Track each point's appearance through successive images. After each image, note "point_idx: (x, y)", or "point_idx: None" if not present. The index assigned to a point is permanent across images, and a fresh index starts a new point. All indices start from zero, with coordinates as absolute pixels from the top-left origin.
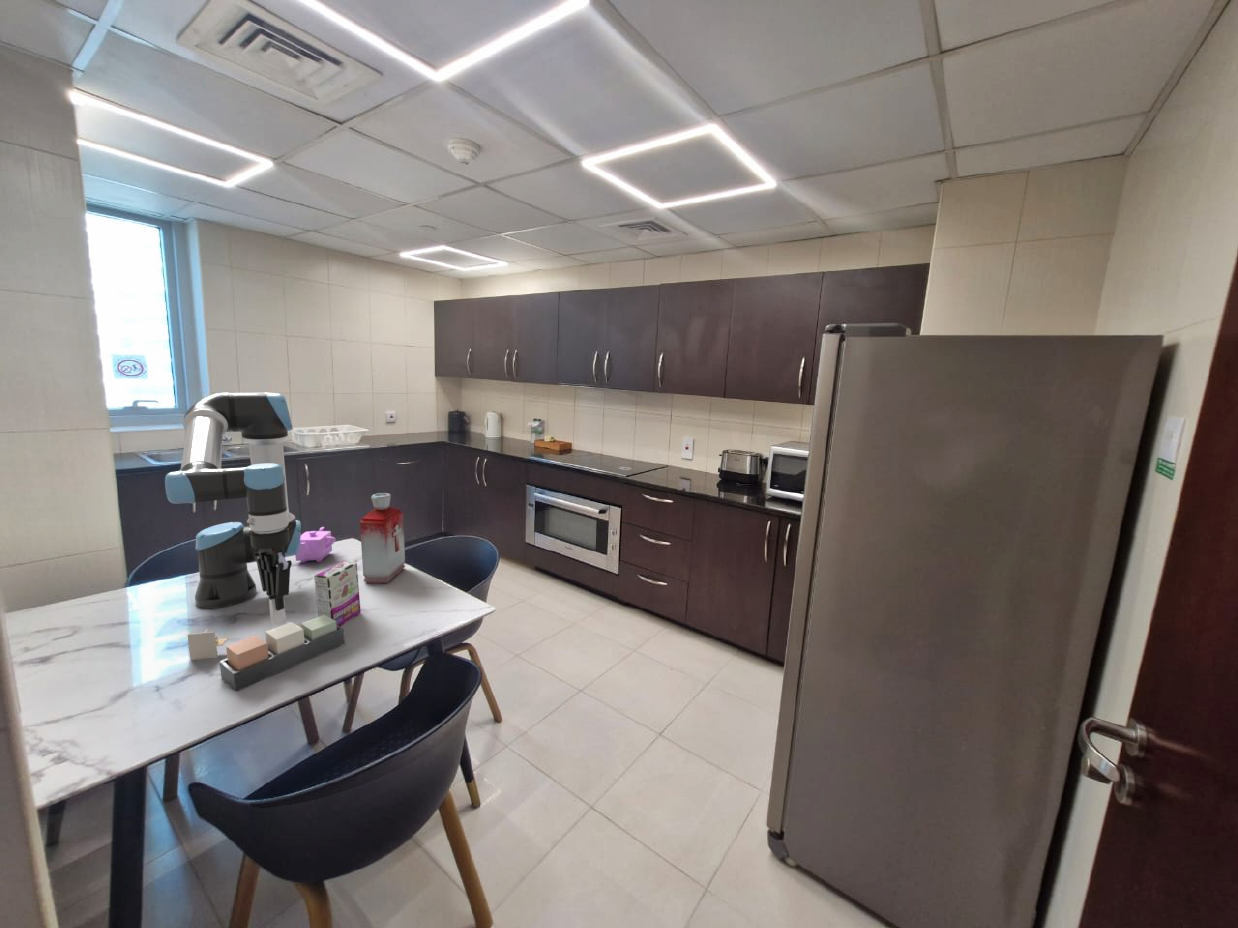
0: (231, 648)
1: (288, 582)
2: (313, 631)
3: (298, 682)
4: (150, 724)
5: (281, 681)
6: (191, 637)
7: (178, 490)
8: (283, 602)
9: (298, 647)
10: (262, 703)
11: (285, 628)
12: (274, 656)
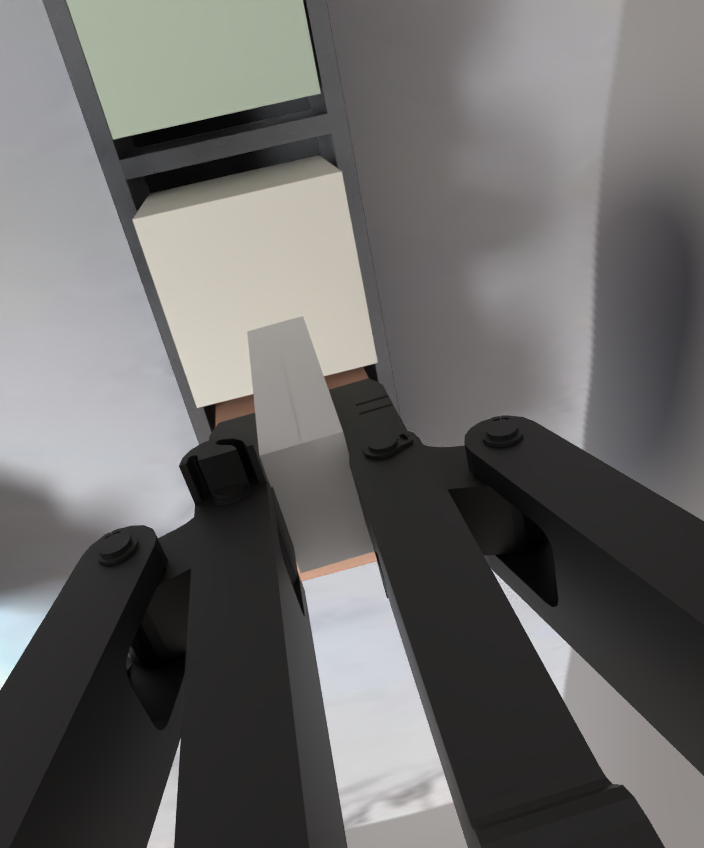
0: (313, 572)
1: (699, 533)
2: (316, 81)
3: (526, 239)
4: (404, 666)
5: (455, 303)
6: None
7: None
8: (394, 411)
9: (362, 208)
10: (565, 391)
11: (231, 283)
12: (381, 347)
